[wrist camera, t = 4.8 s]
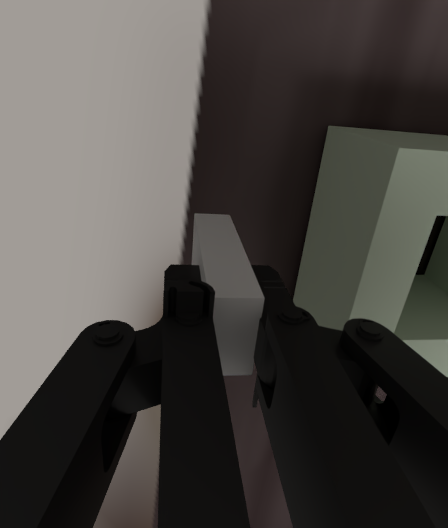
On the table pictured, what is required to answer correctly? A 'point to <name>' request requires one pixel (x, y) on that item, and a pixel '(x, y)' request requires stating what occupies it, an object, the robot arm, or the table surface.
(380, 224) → the sage green block
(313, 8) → the table surface
